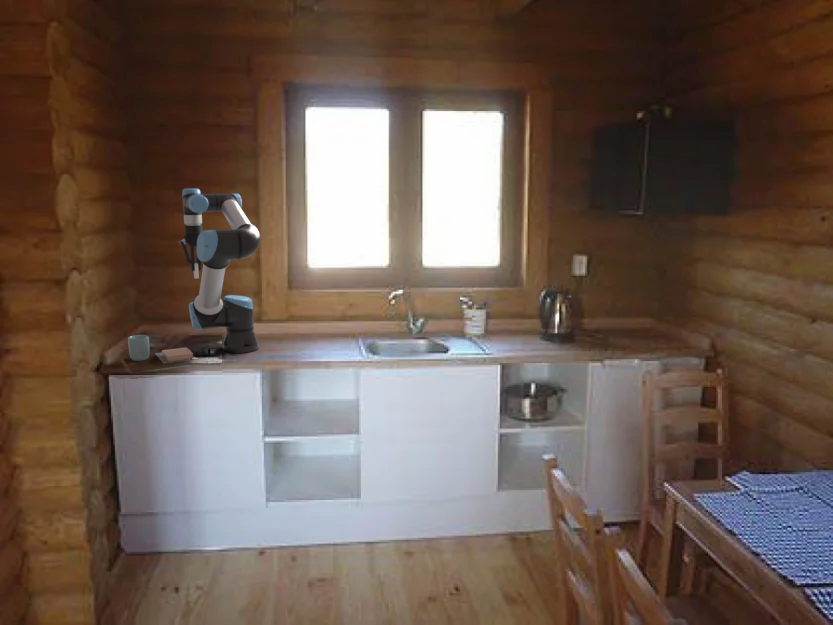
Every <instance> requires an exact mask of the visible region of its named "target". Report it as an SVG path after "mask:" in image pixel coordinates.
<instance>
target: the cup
mask: <svg viewBox="0 0 833 625" xmlns="http://www.w3.org/2000/svg"><path fill="white" fill-rule="evenodd" d="M149 338H150V337H149V336H148V334H147V335H146V334H135V335H131V336H128V337H127V342H128V343H127V344H128V353H129V356H130V359H131V360H132V361H133V362H140V361H146V360H148V359H149V357H150V339H149Z"/></svg>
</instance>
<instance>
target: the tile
mask: <svg viewBox="0 0 833 625" xmlns="http://www.w3.org/2000/svg"><path fill="white" fill-rule="evenodd" d="M161 353H162V355H163V356H164V357H165V359H166V360H167V361H177V360H185V359H192V358H193V354H194V353H193V351H192V350H190V349H189V348H188V347H179V348H170V349H163V350H161Z"/></svg>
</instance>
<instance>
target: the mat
mask: <svg viewBox="0 0 833 625" xmlns="http://www.w3.org/2000/svg"><path fill="white" fill-rule="evenodd" d="M154 354H155V355H156V357H157V358H158V359H159V360H160V361H161V363H163V364H164V365H165V364H170V363H171V364H172V363H178V362H179V363H180V362H188V361H190V360H189V359H185V360H177V361H167V360H166V359H165V357H164V356H163V355H162V352H155V353H154Z"/></svg>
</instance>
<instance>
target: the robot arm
mask: <svg viewBox="0 0 833 625" xmlns="http://www.w3.org/2000/svg"><path fill="white" fill-rule="evenodd" d="M181 194H182V196H181V198H182V209H183V223H184V226H183V227H184V237H183V238H182V240H179V241H178V243H179V245H180V246H181V248H182V252H183V255H184V258H185V261H186V262H187V263H188V264H189V263H190V270H191V272H193V277H194V279H200V275H199V271H202V272H201V280H200V284H199V293H198V295H197V296H196V297H195V298H194V301H191V302H189V304H188V311H189V317H190V321H191V325H192V328H193V329H195V330H196V331H197V330H199V331H200V330H202V331H203V330H208V329H217V328H218V329H220V328H225V336H224V339H223V343H222V349H223V351H225V352H226V353H230V354H232V353H233V354H243V353H250V352H254V351H256V350H258V349H259V348H260V347H259V341H258V339H257V336H256V333H255V329H254V327H255V326H254V324H255V322H254V305H253V300H252V299H251V297H248V296H244V295H236V294H235V295H234V294H233V295H232V294H228V295H225V296H224V298H223V299H221V295H222V292H223V291H222V290H223V285H224V278H225V273H226V269H227V268H228V267H229V266H230V265H231V262H232V261H233V260H242V259H248V258H249V257H251V256H253V255H254V254H255V253H256V252H257V250H258V249H259V247H260V244H261V241H262V240H261V239H262V238H261V233H260V231H259V229H258V227H256V226H255V225H254V224H253V223H251V221H250V220H249V218H248V217H247V216H246V214H245V212H244V211H243V209H242V207H243V202H242V196H241V195H240V194H239V193H232V192H230V193H201V190H200V189H199V188H183V189H182V193H181ZM212 212H216V213H218V212H222V214H223V215H224V217H225V219H226V220H227V222H228V224H229V226H230V228H231V229H229V228H228V229H209V230H203V225H202V224H203V216H202V213H212ZM186 243H187V244H188V245H189V253H188V249H187V246H186ZM195 258H196V262H195ZM201 263H202V268H201ZM201 269H202V270H201Z"/></svg>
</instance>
